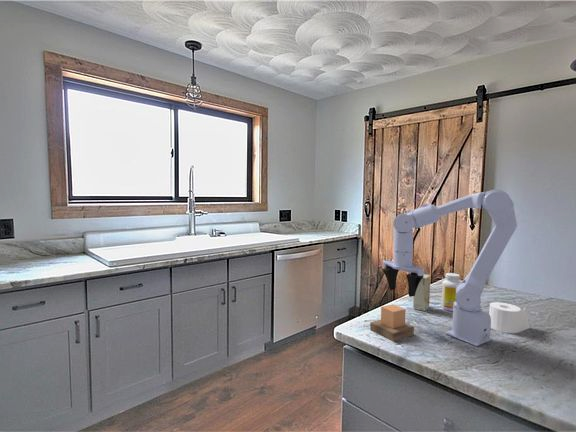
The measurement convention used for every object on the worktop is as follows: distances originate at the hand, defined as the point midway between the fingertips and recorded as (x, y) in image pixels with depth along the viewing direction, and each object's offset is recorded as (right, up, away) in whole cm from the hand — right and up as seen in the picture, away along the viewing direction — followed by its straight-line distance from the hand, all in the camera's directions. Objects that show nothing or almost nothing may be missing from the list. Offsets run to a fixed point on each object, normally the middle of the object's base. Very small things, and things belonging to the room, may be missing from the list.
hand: (401, 292), depth 105 cm
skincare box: (+13, -10, +16) cm, 22 cm away
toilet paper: (+34, -11, -2) cm, 36 cm away
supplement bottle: (+24, -10, +15) cm, 30 cm away
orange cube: (-5, -8, -5) cm, 11 cm away
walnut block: (-5, -11, -5) cm, 14 cm away
